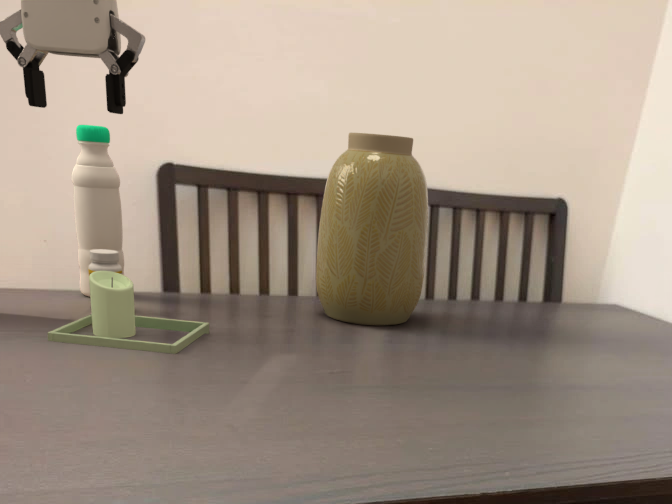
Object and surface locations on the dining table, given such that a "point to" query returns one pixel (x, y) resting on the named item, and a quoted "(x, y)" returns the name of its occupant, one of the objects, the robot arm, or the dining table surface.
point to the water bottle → (96, 200)
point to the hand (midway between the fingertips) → (76, 110)
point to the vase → (373, 232)
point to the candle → (112, 305)
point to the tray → (140, 321)
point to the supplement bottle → (104, 261)
